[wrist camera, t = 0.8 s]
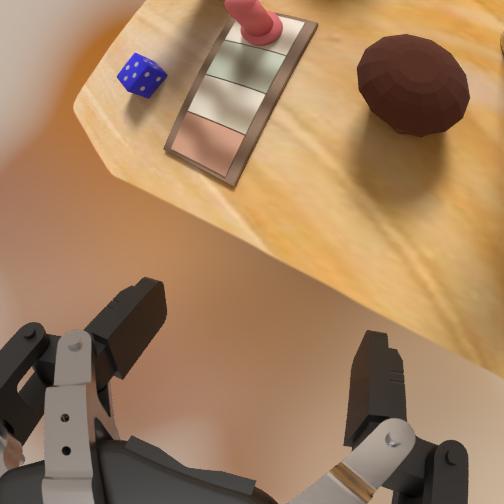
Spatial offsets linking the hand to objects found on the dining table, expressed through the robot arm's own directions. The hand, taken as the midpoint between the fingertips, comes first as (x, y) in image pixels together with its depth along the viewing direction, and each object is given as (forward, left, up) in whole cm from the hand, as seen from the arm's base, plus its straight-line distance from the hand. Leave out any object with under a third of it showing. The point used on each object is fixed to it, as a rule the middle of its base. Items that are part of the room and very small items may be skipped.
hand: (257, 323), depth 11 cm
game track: (-12, -21, -25) cm, 35 cm away
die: (-9, -37, -25) cm, 46 cm away
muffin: (-19, 0, -25) cm, 32 cm away
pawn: (-21, -21, -24) cm, 38 cm away
